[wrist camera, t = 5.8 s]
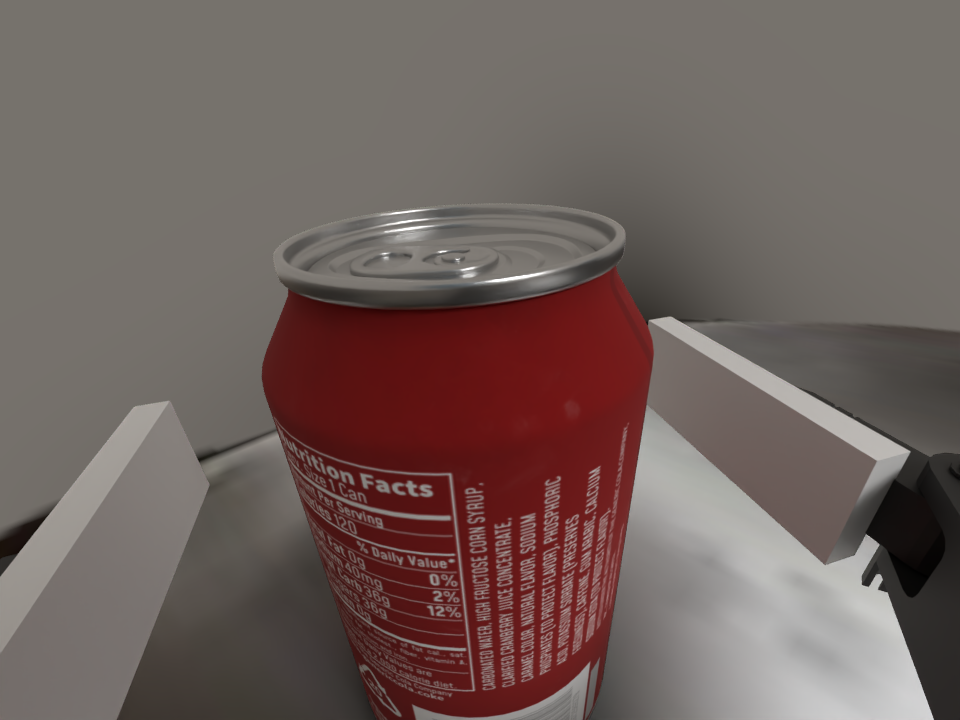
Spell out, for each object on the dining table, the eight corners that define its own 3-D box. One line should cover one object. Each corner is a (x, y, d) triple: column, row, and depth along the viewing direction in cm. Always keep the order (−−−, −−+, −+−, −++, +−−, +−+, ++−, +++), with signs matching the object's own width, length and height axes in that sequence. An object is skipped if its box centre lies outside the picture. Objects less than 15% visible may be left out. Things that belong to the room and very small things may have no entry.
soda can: (630, 805, 10) (781, 293, 4) (334, 794, 10) (84, 315, 4) (580, 546, 16) (612, 192, 10) (395, 546, 16) (324, 206, 10)
